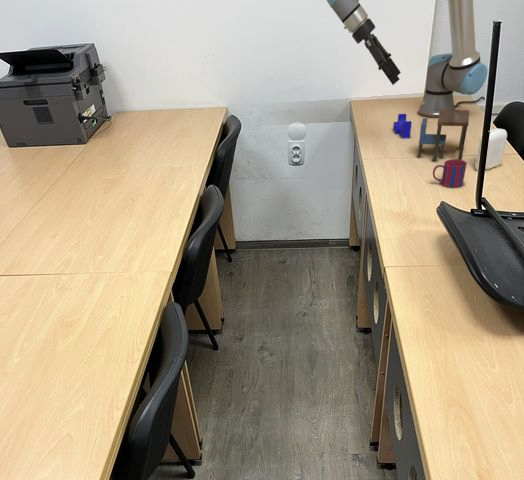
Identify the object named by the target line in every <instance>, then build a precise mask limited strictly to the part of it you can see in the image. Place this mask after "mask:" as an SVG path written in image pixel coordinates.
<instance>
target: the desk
mask: <svg viewBox="0 0 524 480" xmlns="http://www.w3.org/2000/svg"><path fill="white" fill-rule="evenodd" d="M469 123H470V109H469V110H468V109H455V110H440V113H439V117H438V118H437V125H436V126H437V130H436V134H437V136H436V143H435V145H434V151H433V157H432V162H437V161H438V153H439V147H440V145H439V140H440V134H442V127H461V131H460V139H459V144H458V155H457V159H458V160H463V154H464V148H465V142H466V137H467V132H468V131H467V130H468V127H469Z"/></svg>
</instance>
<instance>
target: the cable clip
mask: <svg viewBox="0 0 524 480" xmlns="http://www.w3.org/2000/svg"><path fill="white" fill-rule="evenodd" d="M392 130H393V132H394V133H395V135H399V136H400V137H401V139H410V138H411V131H412V120H407V113H398V114H397V121H393V129H392Z"/></svg>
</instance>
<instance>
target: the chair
mask: <svg viewBox="0 0 524 480" xmlns="http://www.w3.org/2000/svg"><path fill="white" fill-rule="evenodd" d="M427 125H428V117H427V118H426V117H423V118H422V120H421V124H420V133H419V141H418V150H417V151H418V152H417V158H421V156H422V151H423V147H424V145H434V146H435V143H436V136H437V133H426V132H427V127H428V126H427ZM446 141H447V133H446V134H445V133H443V134H442V133H441V134H440V140H439V146H441V148H440V152H439V153H440V154H439V159H444V151H445V146H446Z"/></svg>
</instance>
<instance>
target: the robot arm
mask: <svg viewBox="0 0 524 480" xmlns="http://www.w3.org/2000/svg"><path fill="white" fill-rule="evenodd" d="M359 1H360V0H326V2H327V4H329V6H330V8H331V10H332V11H333V12H334V13H335V15H336V16H337V17H338V19H339V20H340V21H341V23H342V24H343V25H344V26H343V29H344V30H347V31H348V33H350V34H351V36H352V38H353V40H354V41H355V42H356V44H360V43H361V42H363V41H364V43H363V44H364V46H365V48H366V49H367V50H368V51H369V53H370V55H371V57H372V58H373V59H374V62H375V63H376V65H377V66H378V67H377V69H378V71H382V73H384V75H385V77H386V78H387V79H388V80H389V82H390V83H391V85H392V86H394V85H395V84H396V83H397V82H398V81H399V80H400V77H399V75H400V74H401V73H402V72H401V71H400V69H399V68H398V66H397V65H396V63H395V62H394V60H393V58H392V57H391V56H392V54H391V53H390V52H388V51H387V49H385V47H384V46H383V45H382V44H381V41H380V40H379V39H378V37H377V36H376V35H375V33H372V32H373V31H374V30H375V29H376V25H375V24H374V22H373V21H372V19H371V18H369V15H368V13H367V11H366V10H365V8H364V7H363V6H362V5H361V3H360V2H359ZM447 10H448V19H449V21H448V22H449V32H450V43H451V53H442V54H436V55H432V56H431V57H430V58H429V60H428V66H427V73H426V82H425V91H424V95H423V98H422V101H421V104H420V105H419V107H418V114H419V115H421V116H423V117H425V118H426V117H427V118H434V119H435V118H436V119H438V118H439V113H440V110H456V108H457V107H459V105H460V104H475V103H477V102H479V101H481V100H485V99H486V98H485V96H480V97H479V98H478V99H475V100H464V101H463V100H461V101H458V102H457V103H456V106H455V101H454V93H459V94H461V95H468V96H472V95H475V94H476V93H478V92H479V91H480V90H481V88H482V87H483V86H484V84H485V82H486V80H487V77H488V67H487V65H486V64H484V63H482V62H481V53H480V52H479V51H478V50H477V49H476V34H475V33H476V31H475V15H474V14H475V12H474V11H475V10H474V0H447Z"/></svg>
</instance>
